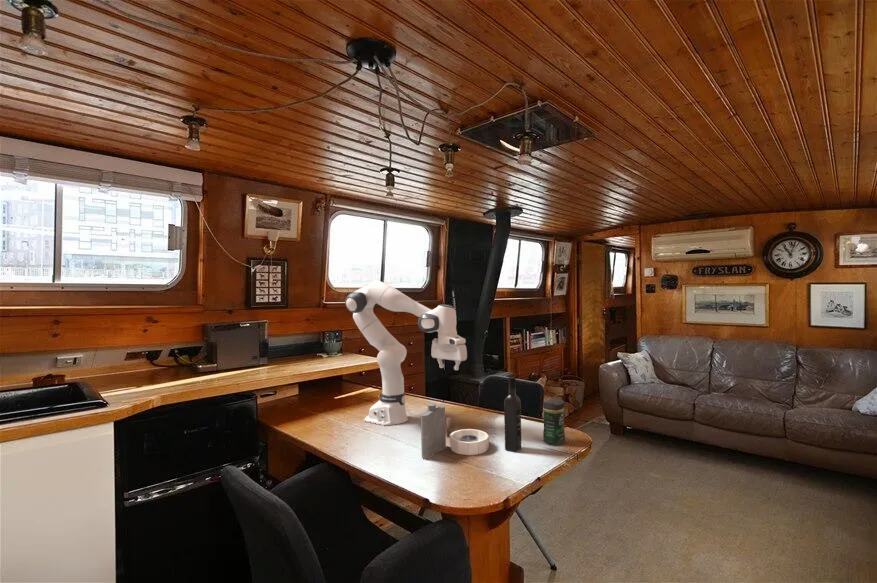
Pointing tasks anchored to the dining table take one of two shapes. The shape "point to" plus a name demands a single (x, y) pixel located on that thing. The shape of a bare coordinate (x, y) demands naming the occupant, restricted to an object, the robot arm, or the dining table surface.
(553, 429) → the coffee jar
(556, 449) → the dining table surface
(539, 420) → the dining table surface
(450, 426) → the walnut peg
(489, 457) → the dining table surface
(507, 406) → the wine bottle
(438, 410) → the hip flask
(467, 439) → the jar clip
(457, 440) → the white ring base
